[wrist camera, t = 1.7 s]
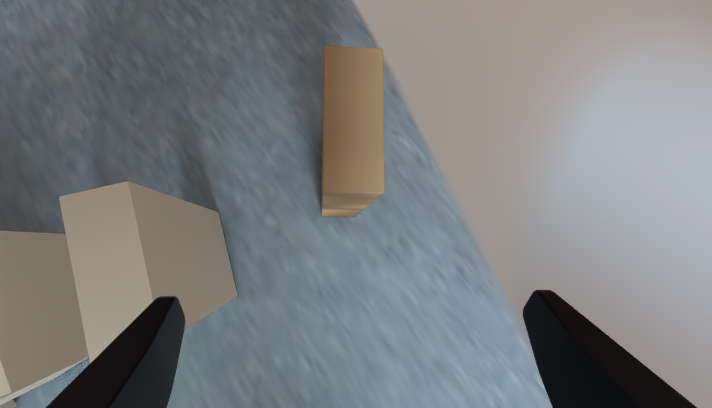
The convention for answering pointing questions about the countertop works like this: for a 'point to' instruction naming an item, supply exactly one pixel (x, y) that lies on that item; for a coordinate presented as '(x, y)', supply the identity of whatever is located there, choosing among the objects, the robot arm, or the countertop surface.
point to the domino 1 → (8, 404)
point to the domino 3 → (142, 257)
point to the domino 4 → (352, 130)
